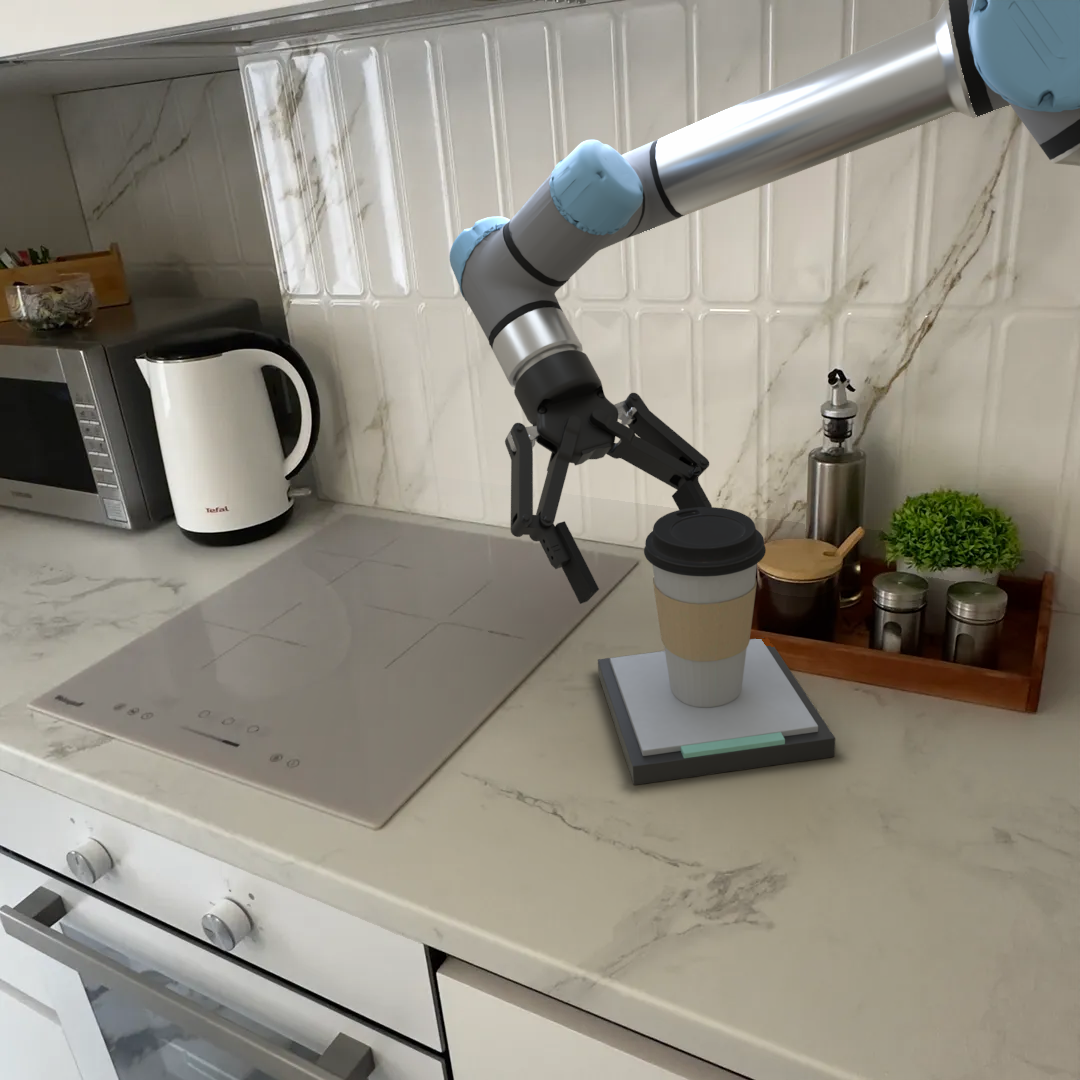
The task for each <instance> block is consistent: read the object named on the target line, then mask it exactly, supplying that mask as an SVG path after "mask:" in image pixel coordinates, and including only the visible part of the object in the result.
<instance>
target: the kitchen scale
mask: <svg viewBox="0 0 1080 1080" xmlns="http://www.w3.org/2000/svg"><path fill="white" fill-rule="evenodd" d="M597 673H598V678H599V681H600V684H601V688H602V690H603V694H604V697H605V700H606V704H607V706H608V710H609V712H610V715H611V718H612V721H613V725H614V729H615V732H616V734H617V737H618V740H619V744H620V746H621V751H622V754H623V756H624V759H625V762H626V764H627V765H626V766H627V768H628V771H629V775H630V778H631V781H632V784H633V786H637V785H644V784H651V783H657V782H666V781H672V780H679V779H686V778H694V777H700V776H707V775H715V774H722V773H728V772H729V773H730V772H735V771H740V770H741V771H743V770H749V769H758V768H763V767H771V766H778V765H785V764H791V763H798V762H807V761H812V760H813V761H814V760H819V759H827V758H833V757H835V749H836V737H835V735H834V734H833V732H832V731H831V729H830V728H829V726H828V725H827V723H826V722H825V721H824V718H823V717H822V716H821V715H820V713H819V712H818V710H817V709H816V707H815V706H814V704H813V703H812V701H811V699H810V698H809V696H808V695H807V694H806V692H805V691H804V689H803V688H802V686H801V685H800V683H799V681H798V680H797V678H796V677H795V675H794V674H793V672H792V671H791V669H790V668H789V667H788V665H787V663H786V662H785V661H784V659H783V657H782V655H780V653H779V651H778V650H777V649H776V647H775V646H774V647H771V646H766V645H765V644H764V642H763V641H762V639H756V638H750V641H749V644H748V646H747V650H746V658H745V665H744V673H743V681H742V688H741V693H740V695H739V696H738V697H737V698H736V699H735V700H733V701H732V702H730V703H727V704H725V705H721V706H717V707H710V708H701V707H694V706H690V705H688V704H685V703H683V702H682V701H680V700H679V699H678V698H676V697H675V695H674V694H673V693H672V690H671V687H670V680H669V674H668V667H667V661H666V654H665V650H659V651H652V652H643V653H636V654H628V655H621V656H613V657H606V658H599V659H597Z"/></svg>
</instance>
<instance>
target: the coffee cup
mask: <svg viewBox="0 0 1080 1080" xmlns="http://www.w3.org/2000/svg"><path fill="white" fill-rule="evenodd" d="M644 544H645V546H644V548H643V554H644V557H645V559H646V560H647V562H648V563H650V564H651V565H652V566H651V567H652V572H653V578H652V585H653V586H652V587H653V592H654V598H655V606H656V612H657V620H658V627H659V633H660V639H661V642H662V644H663V647H664V651H665V654H666V661H667V667H668V674H669V680H670V687H671V690H672V693H673V694H674V695H675V697H676V698H678V699H679V700H680V701H682V702H683V703H685V704H688V705H690V706H694V707H701V708H710V707H717V706H721V705H725V704H727V703H730V702H732V701H733V700H735V699H736V698H737V697H738V696H739V695H740V693H741V688H742V681H743V673H744V665H745V658H746V650H747V646H748V644H749V641H750V639H751V632H752V625H753V616H754V609H755V608H754V607H755V601H756V593H757V584H758V583H757V578H756V576H757V569H758V563H759V562H761V561H762V560H763V559H764V557H765V556H766V551H767V550H766V546H765V539H764V536H763V535H762V533H761V532H760V531H759V530H757V527H756V524H755V522H754V521H753V519H752V518H751V517H749V516H748V515H746V514H745V513H743V512H739V511H737V510H734V509H731V508H730V509H729V508H723V507H717V506H716V507H715V506H712V507H696V508H688V509H682V510H679V509H678V510H674V511H672V512H668V513H666V514H664V515H662V516H661V517H659V518H658V519H657V520H656V521H655V522H654V524H653V527H652V531H651V532H650V533H648V535H647V536H646V538H645V541H644Z"/></svg>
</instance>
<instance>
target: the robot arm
mask: <svg viewBox="0 0 1080 1080" xmlns="http://www.w3.org/2000/svg"><path fill="white" fill-rule="evenodd" d="M928 20H929V21H928ZM928 20H926V21H927V22H926V21H924V22H925V23H924V22H921V23H919V24H920V25H919V24H917V25H918V26H917V25H915V26H912V27H913V28H912V27H910V28H911V29H910V28H908V29H906V30H903V31H904V32H903V31H901V32H902V33H901V32H898V33H897V34H894V35H895V36H894V35H892V36H890V37H888V39H887V38H885V39H883V40H881V41H879V43H878V42H876V43H874V44H872V45H869V46H867V47H865V48H863V50H862V49H860V50H858V51H856V52H853V53H851V54H849V55H847V56H845V57H844V56H843V57H842V58H840V59H838V61H837V60H835V61H832V62H831V63H828V64H826V65H823V66H822V67H820V68H817V69H815V70H812V71H810V72H808V73H806V74H804V75H801V76H799V77H797V78H794V79H792V80H790V81H787V82H785V83H783V84H781V85H779V86H776V87H773V88H772V89H769V90H767V91H765V92H762V93H760V94H758V95H756V96H753V97H751V98H749V99H747V100H745V101H742V102H740V103H738V104H735V105H733V106H731V107H729V108H726V109H724V110H721V111H720V112H717V113H715V114H713V115H712V114H711V115H710V116H709V117H706V118H703V119H701V120H699V121H697V122H694V123H692V124H690V125H687V126H685V127H683V128H681V129H678V130H676V131H674V132H672V133H669V134H666V135H665V136H663V137H660V138H659V139H656V140H653V141H651V142H648V143H646V144H643V145H641V146H638V147H637V148H634V149H632V150H630V151H627V152H625V153H623V154H621V153H620V152H618V151H617V149H615V148H613V147H612V146H611V145H609V144H607V143H602V142H601V141H600V140H597V139H586V140H584V141H582V142H580V143H579V144H578V145H577V146H576V147H575V148H574V149H573V150H572V151H571V152H570V153H569V154H568V155H567V156H566V157H565V158H562V159H561V160H560V161H559V162H558V163H557V164H556V165H555V166H554V168H553V170H552V171H551V173H550V174H549V176H548V177H546V179H545V180H544V181H543V182H542V183H541V184H540V186H539V187H538V188H537V189H536V191H534V193H532V194H531V196H530V197H529V198H528V199H527V201H526V202H525V203H524V204H523V205H522V207H521V208H519V210H518V211H517V212H516V213H515V214H514V216H512V218H511V219H509V218H507V217H506V216H505V217H504V216H489V217H485V218H482V219H479V220H477V221H475V223H474V225H473V226H471V227H470V228H465V229H463V230H462V231H461V232H460V233H459V234H458V236H456V238H455V240H454V241H453V243H452V245H451V247H450V251H449V264H450V267H451V270H452V272H453V274H454V277H455V279H456V281H457V283H458V287H459V291H460V293H461V297H462V298H463V299H464V301H465V302H466V303H467V305H468V306H469V308H470V310H471V311H472V313H473V315H474V317H475V319H476V320H477V322H478V324H479V326H480V328H481V330H482V332H483V333H484V335H485V337H486V339H487V341H488V344H489V346H490V347H491V350H492V352H493V354H494V356H495V358H496V360H497V362H498V364H499V366H500V367H501V370H502V372H503V374H504V376H505V377H506V379H507V381H508V383H509V385H510V387H511V388H514V390H513V391H514V392H513V393H514V396H515V398H516V401H517V402H518V404H519V406H520V408H521V410H522V412H523V413H524V416H525V417H526V420H527V421H528V423H529V424H530V425H531V426H525V425H524V424H523V423H521V422H515V423H514V424H513V425H512V427H511V429H510V430H509V432H508V434H507V435H506V437H505V440H504V444H505V447H506V449H507V452H508V455H509V458H510V469H511V471H510V533H511V535H513V536H514V537H516V538H520V537H521V538H522V536H529V538H530V539H531V540H532V541H533V542H539V544H541V545H540V546H541V547H542V549H543V551H544V553H545V556H546V557H547V560H548V562H549V563H550V565H551V566H552V567H553V568H554V570H558V569H560V568H562V571H563V573H564V575H565V577H566V579H567V581H568V583H569V585H570V587H571V589H572V591H573V592H574V594H575V595H574V596H575V597H576V599H577V601H578V603H579V604H580V605H582V604H584V603H587V602H589V600H590V599H592V597H594V595H595V594H597V592H598V591H599V590H600V588H599V586H598V584H597V582H596V580H595V577H594V576H593V574H592V572H591V570H590V568H589V566H588V564H587V562H586V561H585V558H584V556H583V554H582V552H581V551H580V548H579V546H578V544H577V543H576V541H575V538H574V536H573V535H572V533H571V530H570V529H569V526H568V525H567V522H566V521H565V520H563V521H561V522H557V523H556V525H555V524H554V523H555V520H556V516H557V512H558V509H559V505H560V500H561V497H562V494H563V490H564V489H563V488H564V486H565V482H566V477H567V473H568V470H569V466H570V463H571V464H574V466H579V465H582V464H584V463H585V462H587V461H588V460H599V459H602V458H604V457H605V456H606V455H607V456H609V457H610V458H612V459H615V460H617V459H618V460H619V459H621V460H623V461H625V462H627V463H628V464H630V465H632V466H633V467H636V468H637V469H638V470H641V471H643V472H645V473H646V474H648V475H649V476H651V477H654V478H655V479H657V480H659V481H660V482H662V483H664V484H666V485H668V486H670V487H671V488H673V489H675V490H676V491H675V492H674V493H673V494H672V495H671V497H672V499H673V502H674V503H675V505H676V507H677V508H678V510H682V509H688V508H696V507H713V506H712V503H711V502H710V500H709V497H708V496H707V494H706V492H705V490H704V489H703V487H702V485H701V483H700V481H699V478H700V476H701V475H702V474H703V473H704V472H705V471H706V470H707V469H708V468H709V466H710V461H709V459H708V457H707V458H706V456H704V455H703V454H702V453H701V452H699V451H698V450H697V448H695V447H694V446H693V445H692V444H690V443H689V442H687V440H686V439H684V438H683V437H682V436H681V435H680V434H678V433H677V432H676V431H675V430H673V428H671V427H670V426H669V425H667V424H666V423H665V422H664V421H663V420H662V419H660V418H659V417H658V416H657V415H656V414H654V413H653V412H652V411H651V410H650V409H649V407H648V406H647V404H646V403H645V402H644V400H643V399H642V397H641V396H640V395H639V394H638V393H637V392H630V393H629V395H628V396H627V397H626V398H625V399H624V400H622V401H620V402H617V403H615V404H614V403H612V402H611V401H610V400H609V399H608V398H607V397H606V395H605V392H604V388H603V383H602V380H601V379H600V377H599V375H598V373H597V371H596V369H595V367H594V365H593V363H592V362H591V360H590V358H589V357H588V355H587V354H586V353H585V352H583V344H582V343H581V341H580V339H579V337H578V336H577V334H576V332H575V330H574V328H573V327H572V325H571V323H570V321H569V319H568V318H567V316H566V314H565V312H564V311H563V309H562V306H561V305H560V304H559V300H558V298H557V296H556V293H557V291H558V290H559V289H560V288H561V287H562V286H564V285H565V284H566V283H567V282H568V281H569V280H570V279H571V277H573V275H574V274H576V273H577V272H578V271H579V270H580V269H581V268H582V267H583V266H584V265H585V264H586V263H588V261H590V259H591V258H592V257H594V256H595V255H596V254H597V253H598V252H599V251H601V250H604V249H606V248H608V247H611V246H613V245H615V244H617V243H621V242H623V241H624V240H626V239H629V238H631V237H634V236H637V235H640V233H641V234H643V233H645V232H644V231H646V232H648V231H647V230H649V231H651V230H650V229H652V228H654V229H656V228H657V227H660V226H663V225H665V224H668V223H670V222H672V221H673V222H674V221H675V220H678V219H680V218H682V217H685V216H687V215H690V214H693V213H695V212H697V211H700V210H703V209H706V208H708V207H711V206H713V205H716V204H718V203H720V202H725V201H726V200H729V199H732V198H734V197H737V196H739V195H742V194H744V193H747V192H751V191H753V190H756V189H758V188H761V187H763V186H766V185H769V184H771V183H774V182H776V181H778V180H781V179H785V178H786V177H789V176H791V175H795V174H797V173H800V172H802V171H805V170H807V169H810V168H813V167H815V166H818V165H822V164H824V163H826V162H829V161H831V160H834V159H836V158H839V157H842V156H844V154H845V155H847V154H850V153H853V152H855V151H858V150H860V149H862V148H863V149H864V148H866V147H868V146H871V145H874V144H876V143H879V142H881V141H884V140H886V138H887V139H889V138H892V137H895V136H897V135H900V134H902V133H905V132H908V131H910V130H913V129H915V128H917V126H918V127H920V125H921V126H923V125H926V124H928V122H929V123H931V122H933V120H934V121H937V120H939V119H941V118H940V117H942V118H944V117H946V116H945V115H947V116H949V115H948V114H950V113H952V112H955V113H960V114H963V115H965V116H967V117H969V118H971V117H972V119H976V118H975V117H977V118H979V117H981V116H980V115H982V116H984V115H983V114H985V115H987V114H989V113H988V112H990V113H992V112H991V111H993V110H995V111H997V110H996V109H999V108H1002V107H1005V106H1008V107H1011V108H1012V110H1013V111H1014V113H1015V114H1016V116H1018V118H1019V119H1020V121H1021V122H1022V124H1023V126H1025V128H1026V130H1027V131H1028V132H1029V133H1030V135H1031V136H1032V137H1033V139H1034V141H1036V143H1037V144H1038V146H1039V148H1041V150H1042V151H1043V153H1044V154H1045V155H1046V157H1047V158H1048V159H1049V160H1048V161H1050V163H1051V164H1056V165H1066V166H1075V167H1076V166H1077V167H1080V0H943V2H942V4H941V5H940V7H939V9H938V11H937V13H936V15H935V16H934V17H932V18H931V19H928ZM951 22H952V23H951ZM952 26H953V29H952ZM953 32H954V34H953ZM961 68H962V70H961ZM962 73H963V74H962ZM963 75H964V78H963ZM968 93H969V94H968ZM969 96H970V98H969ZM971 103H972V104H971ZM1009 105H1011V106H1009ZM1005 108H1006V107H1005ZM1002 109H1003V108H1002ZM999 110H1000V109H999ZM974 112H975V113H974ZM993 112H994V111H993ZM986 113H987V114H986ZM952 114H953V113H952ZM950 115H951V114H950ZM976 115H977V116H976ZM943 116H944V117H943ZM978 116H979V117H978ZM938 118H939V119H938ZM930 121H931V122H930ZM925 123H926V124H925ZM912 128H913V129H912ZM907 130H908V131H907ZM899 133H900V134H899ZM849 152H850V153H849ZM655 227H656V228H655ZM652 230H653V229H652ZM642 232H643V233H642ZM618 420H619V421H618ZM616 438H618V439H619V440H618V442H616ZM536 443H537V444H539V445H540V446H542V447H543V448H545V449H546V450H548V451H549V452H551V454H550V457H549V460H548V465H547V468H546V475H545V479H544V483H543V487H542V491H541V494H540V498H539V502H538V505H537V509H536V513H535V514H534V462H533V461H534V453H533V449H534V447H535V445H536Z"/></svg>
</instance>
